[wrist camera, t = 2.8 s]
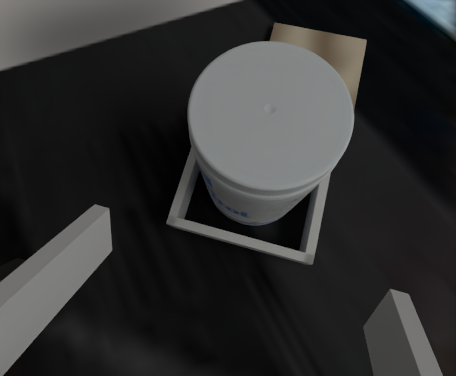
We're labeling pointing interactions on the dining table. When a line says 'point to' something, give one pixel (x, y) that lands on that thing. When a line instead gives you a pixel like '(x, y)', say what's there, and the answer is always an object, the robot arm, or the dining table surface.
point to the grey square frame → (301, 256)
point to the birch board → (328, 51)
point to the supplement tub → (267, 128)
